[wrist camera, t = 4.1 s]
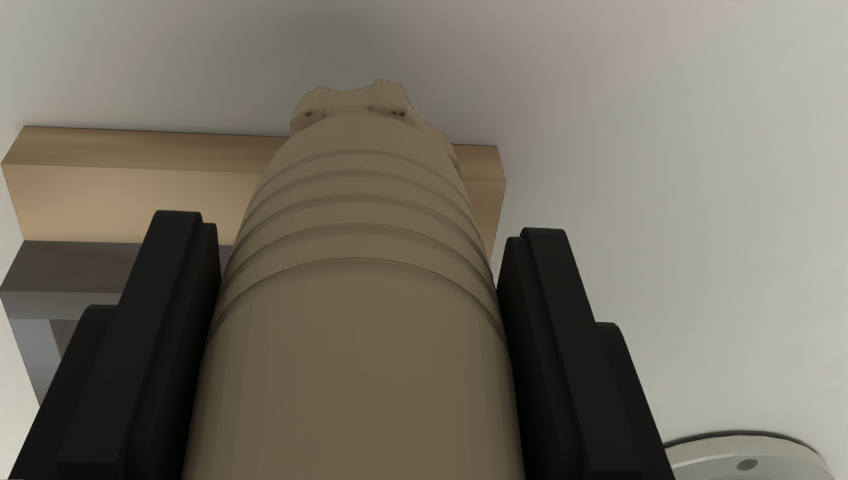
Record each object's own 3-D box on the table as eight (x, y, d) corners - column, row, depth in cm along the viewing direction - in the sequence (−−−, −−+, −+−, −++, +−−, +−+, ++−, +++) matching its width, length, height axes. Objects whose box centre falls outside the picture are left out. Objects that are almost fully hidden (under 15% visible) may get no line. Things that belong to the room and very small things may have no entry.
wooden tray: (441, 435, 31) (451, 521, 28) (110, 437, 29) (83, 529, 26) (496, 146, 22) (519, 228, 19) (24, 126, 20) (-30, 212, 17)
